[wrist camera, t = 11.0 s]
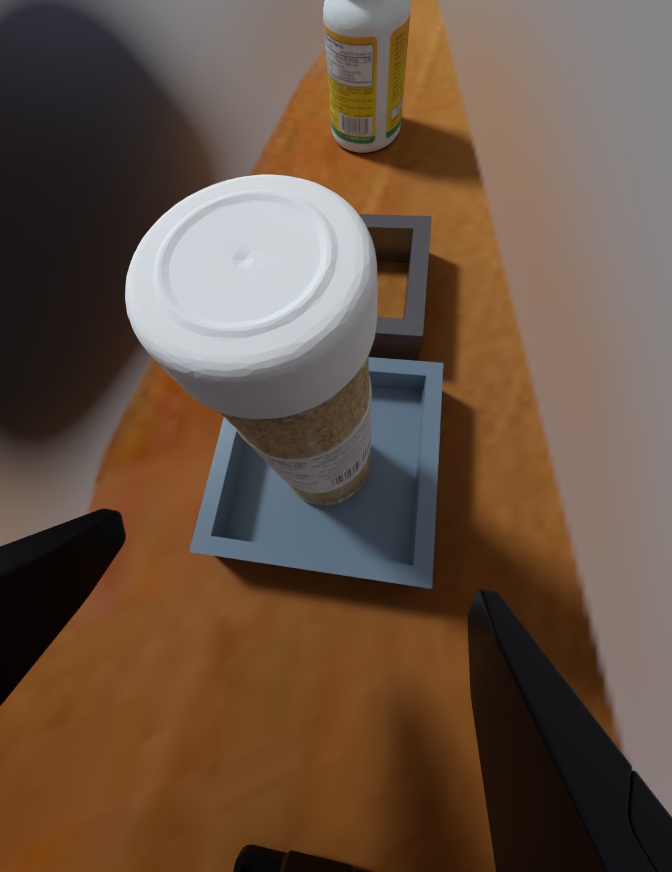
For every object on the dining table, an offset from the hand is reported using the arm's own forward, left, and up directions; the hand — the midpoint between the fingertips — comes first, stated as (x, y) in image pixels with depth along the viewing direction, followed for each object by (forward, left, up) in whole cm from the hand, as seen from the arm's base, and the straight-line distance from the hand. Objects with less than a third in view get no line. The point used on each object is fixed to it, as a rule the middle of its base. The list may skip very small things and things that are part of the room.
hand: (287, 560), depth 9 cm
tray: (+5, +1, -10) cm, 11 cm away
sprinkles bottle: (+5, +1, -9) cm, 10 cm away
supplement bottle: (+32, +2, -10) cm, 33 cm away
